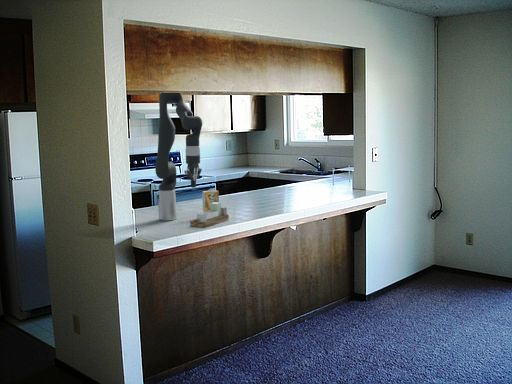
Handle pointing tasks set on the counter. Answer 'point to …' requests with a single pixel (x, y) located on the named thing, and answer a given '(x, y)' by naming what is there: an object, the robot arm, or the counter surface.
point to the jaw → (206, 216)
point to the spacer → (216, 207)
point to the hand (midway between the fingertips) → (193, 187)
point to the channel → (222, 218)
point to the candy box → (209, 198)
